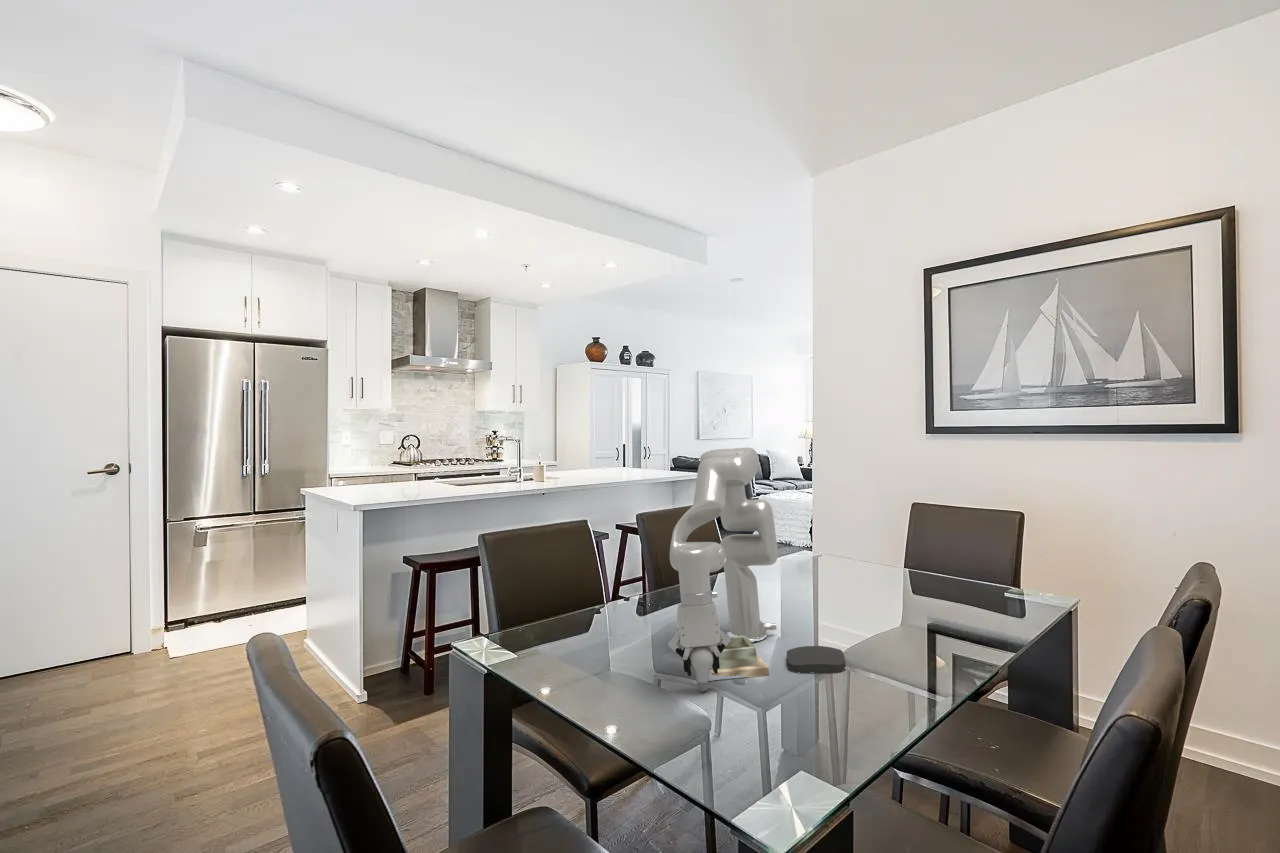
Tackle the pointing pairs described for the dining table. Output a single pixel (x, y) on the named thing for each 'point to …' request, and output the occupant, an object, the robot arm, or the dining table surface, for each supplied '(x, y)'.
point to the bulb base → (740, 659)
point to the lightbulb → (701, 665)
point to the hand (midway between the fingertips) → (702, 672)
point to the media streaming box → (815, 659)
